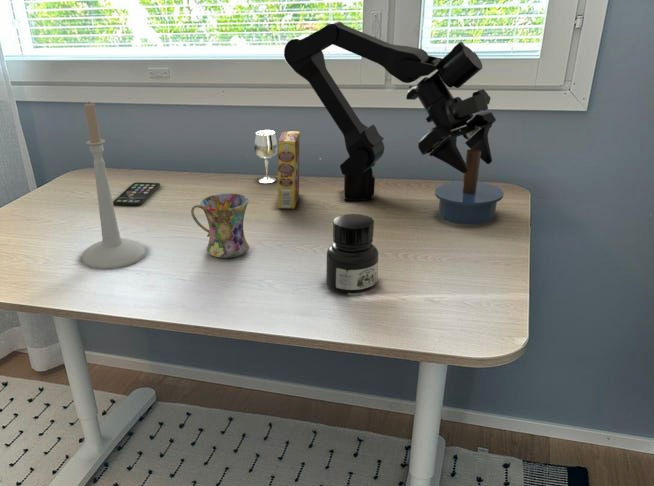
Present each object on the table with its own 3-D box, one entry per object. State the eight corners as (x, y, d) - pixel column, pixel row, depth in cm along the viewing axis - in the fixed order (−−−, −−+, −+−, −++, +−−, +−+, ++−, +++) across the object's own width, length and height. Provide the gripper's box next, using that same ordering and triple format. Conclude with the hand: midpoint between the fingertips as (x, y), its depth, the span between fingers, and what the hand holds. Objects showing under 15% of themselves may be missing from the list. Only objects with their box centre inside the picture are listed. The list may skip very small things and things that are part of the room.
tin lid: (440, 209, 139) (445, 161, 134) (429, 187, 150) (433, 142, 145) (510, 207, 138) (518, 159, 132) (494, 185, 149) (500, 140, 144)
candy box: (296, 209, 156) (295, 141, 148) (277, 209, 157) (275, 141, 149) (300, 196, 163) (300, 130, 155) (282, 196, 164) (281, 131, 156)
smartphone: (111, 202, 165) (134, 182, 177) (112, 205, 165) (134, 184, 177) (140, 203, 163) (161, 182, 175) (140, 206, 164) (161, 185, 176)
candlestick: (147, 264, 135) (125, 105, 119) (81, 272, 133) (50, 112, 117) (144, 240, 145) (123, 91, 129) (83, 247, 144) (55, 97, 128)
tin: (443, 227, 142) (445, 204, 139) (434, 208, 152) (436, 186, 149) (499, 226, 141) (503, 203, 138) (487, 207, 151) (490, 184, 148)
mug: (257, 245, 139) (255, 195, 134) (240, 264, 132) (237, 211, 127) (204, 239, 144) (200, 190, 138) (185, 257, 136) (179, 206, 131)
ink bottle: (340, 301, 117) (342, 235, 111) (315, 281, 124) (315, 218, 118) (388, 288, 120) (392, 223, 114) (361, 269, 127) (364, 207, 121)
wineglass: (279, 176, 177) (277, 129, 171) (277, 183, 172) (276, 135, 166) (256, 177, 178) (254, 130, 171) (255, 184, 173) (252, 136, 167)
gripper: (435, 85, 130) (478, 154, 128) (494, 70, 139) (534, 134, 137) (400, 121, 139) (439, 186, 137) (457, 105, 148) (494, 165, 147)
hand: (478, 167), depth 140 cm, fingers open, 8 cm apart
